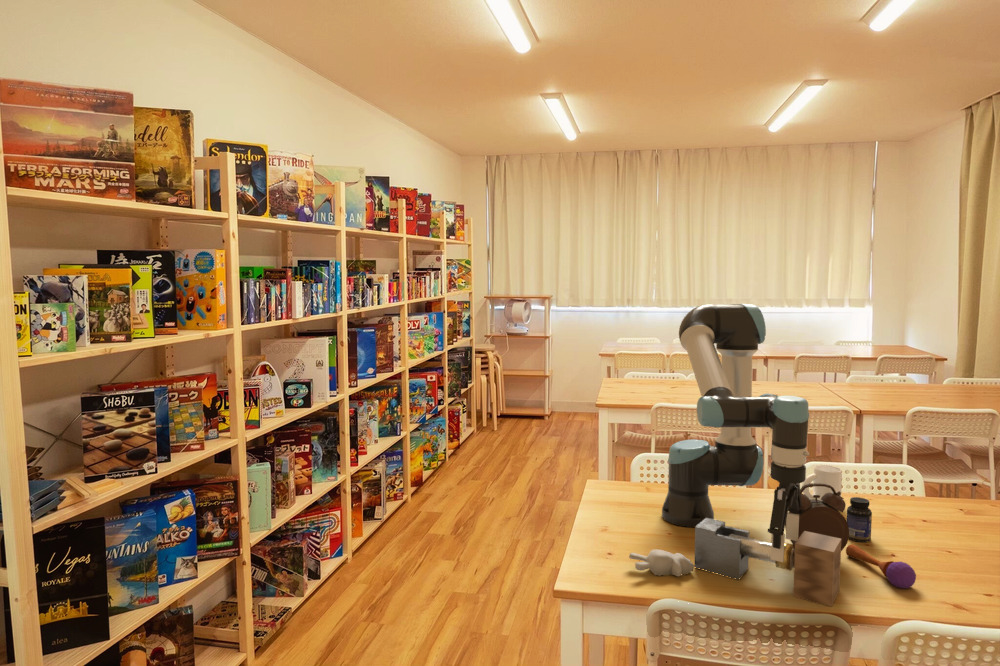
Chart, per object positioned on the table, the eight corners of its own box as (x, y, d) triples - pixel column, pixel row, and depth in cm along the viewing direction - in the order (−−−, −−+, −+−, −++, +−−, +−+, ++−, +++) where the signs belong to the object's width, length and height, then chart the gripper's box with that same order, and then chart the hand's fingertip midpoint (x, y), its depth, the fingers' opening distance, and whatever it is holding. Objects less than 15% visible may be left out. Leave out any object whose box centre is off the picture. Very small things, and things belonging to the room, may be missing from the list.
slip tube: (725, 558, 162) (726, 535, 161) (733, 550, 166) (734, 527, 166) (809, 579, 150) (810, 554, 150) (815, 570, 155) (816, 545, 154)
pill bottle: (874, 543, 180) (875, 504, 179) (849, 541, 181) (851, 503, 180) (866, 534, 186) (868, 496, 185) (842, 533, 187) (844, 495, 186)
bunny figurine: (699, 564, 160) (639, 559, 158) (696, 584, 160) (636, 579, 159) (685, 547, 169) (628, 543, 168) (682, 566, 169) (626, 562, 168)
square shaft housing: (694, 568, 166) (695, 526, 165) (705, 557, 172) (705, 517, 171) (738, 580, 159) (739, 537, 158) (748, 568, 165) (749, 527, 164)
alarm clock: (836, 553, 174) (839, 479, 172) (849, 565, 167) (853, 488, 165) (780, 552, 175) (782, 478, 173) (790, 564, 168) (793, 487, 166)
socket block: (793, 596, 151) (795, 543, 150) (802, 581, 158) (804, 530, 157) (831, 606, 146) (833, 552, 145) (839, 590, 154) (841, 538, 152)
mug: (795, 501, 213) (796, 464, 212) (832, 500, 214) (833, 464, 212) (807, 510, 205) (809, 472, 204) (845, 509, 205) (847, 472, 204)
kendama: (863, 540, 173) (923, 568, 153) (859, 563, 173) (920, 593, 153) (843, 538, 172) (901, 565, 152) (839, 560, 172) (897, 591, 152)
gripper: (792, 480, 142) (788, 574, 144) (817, 452, 161) (813, 535, 164) (756, 474, 146) (752, 565, 149) (785, 447, 166) (781, 528, 168)
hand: (784, 549), depth 156 cm, fingers open, 13 cm apart
